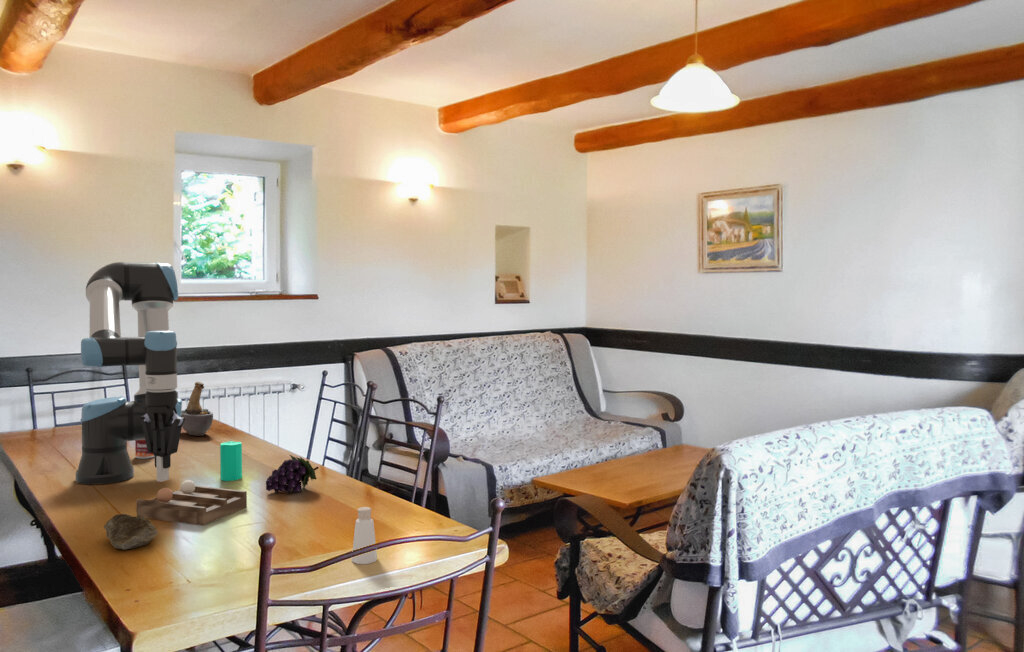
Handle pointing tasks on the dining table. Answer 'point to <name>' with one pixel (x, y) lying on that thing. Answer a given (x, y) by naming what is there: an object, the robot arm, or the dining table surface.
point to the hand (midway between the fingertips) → (162, 480)
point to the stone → (129, 531)
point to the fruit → (291, 475)
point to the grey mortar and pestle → (196, 414)
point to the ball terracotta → (164, 495)
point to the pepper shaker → (364, 536)
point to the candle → (230, 461)
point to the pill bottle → (142, 450)
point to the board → (194, 505)
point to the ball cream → (187, 487)
